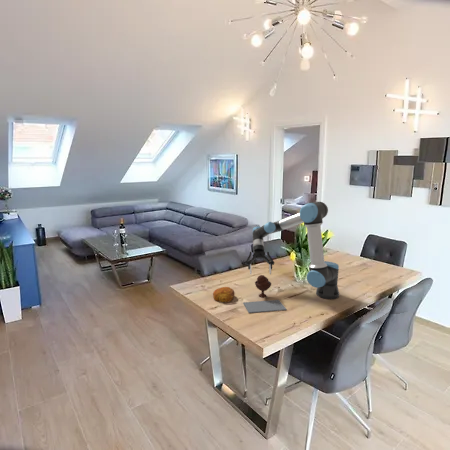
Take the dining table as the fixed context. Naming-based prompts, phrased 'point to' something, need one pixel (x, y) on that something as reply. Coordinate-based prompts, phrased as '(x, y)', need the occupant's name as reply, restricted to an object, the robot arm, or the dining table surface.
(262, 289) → the ice cream bowl
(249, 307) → the placemat
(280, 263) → the dining table surface
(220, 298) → the orange-brown rounded lump
